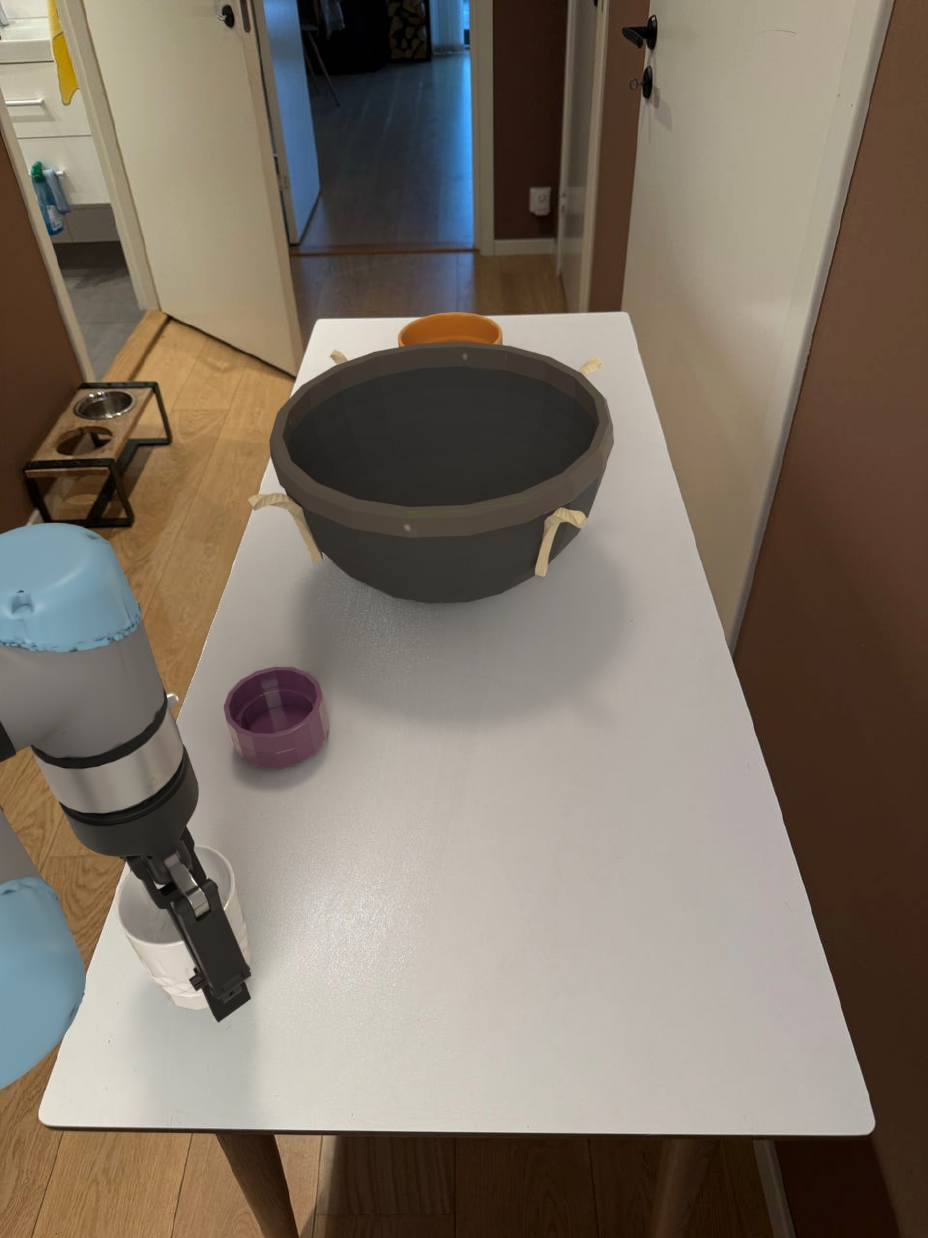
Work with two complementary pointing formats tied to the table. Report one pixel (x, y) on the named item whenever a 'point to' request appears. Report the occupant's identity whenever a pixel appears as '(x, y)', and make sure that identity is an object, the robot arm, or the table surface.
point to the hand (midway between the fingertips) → (204, 966)
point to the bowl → (441, 466)
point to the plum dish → (276, 717)
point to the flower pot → (451, 329)
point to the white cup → (160, 936)
